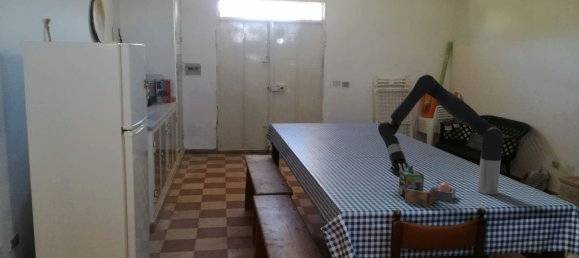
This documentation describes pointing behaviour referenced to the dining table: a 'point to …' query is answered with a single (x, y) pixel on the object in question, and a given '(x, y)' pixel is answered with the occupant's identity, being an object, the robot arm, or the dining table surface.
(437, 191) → the dome collar
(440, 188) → the dome
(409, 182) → the chalk box
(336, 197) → the dining table surface
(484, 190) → the robot arm
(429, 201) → the corner fence
